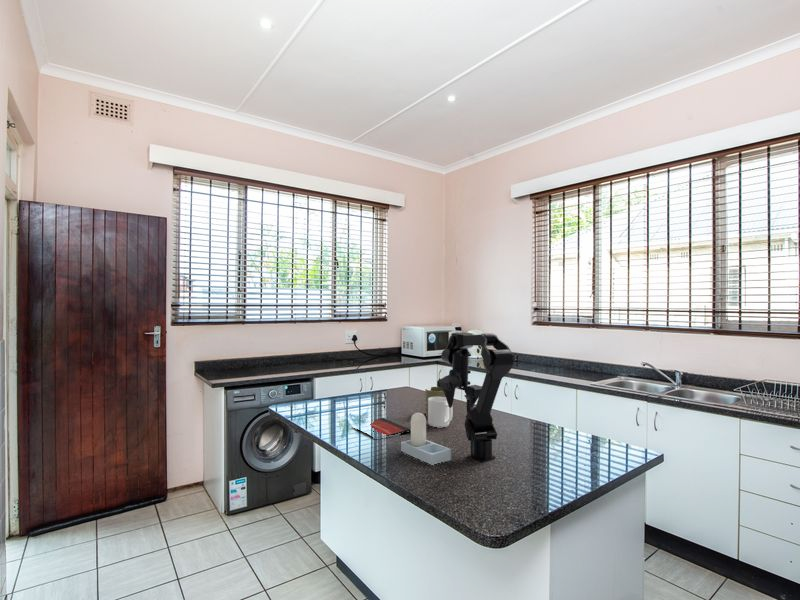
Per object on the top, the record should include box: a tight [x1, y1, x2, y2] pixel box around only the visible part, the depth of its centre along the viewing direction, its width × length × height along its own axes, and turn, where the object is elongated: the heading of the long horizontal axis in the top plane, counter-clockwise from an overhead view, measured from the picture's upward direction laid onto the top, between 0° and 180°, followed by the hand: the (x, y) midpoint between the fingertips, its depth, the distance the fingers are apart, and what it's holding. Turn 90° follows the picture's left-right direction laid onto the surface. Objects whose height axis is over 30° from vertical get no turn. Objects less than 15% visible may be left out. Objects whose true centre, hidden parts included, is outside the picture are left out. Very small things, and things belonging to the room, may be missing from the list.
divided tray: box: [400, 439, 452, 466], centre depth 142 cm, size 16×8×4 cm, turn 38°
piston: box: [424, 386, 450, 418], centre depth 195 cm, size 11×12×11 cm
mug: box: [427, 397, 454, 429], centre depth 178 cm, size 12×9×11 cm
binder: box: [370, 417, 411, 436], centre depth 172 cm, size 16×2×21 cm
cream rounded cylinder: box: [410, 412, 427, 448], centre depth 145 cm, size 5×5×13 cm
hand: (459, 410), depth 155 cm, fingers open, 9 cm apart
